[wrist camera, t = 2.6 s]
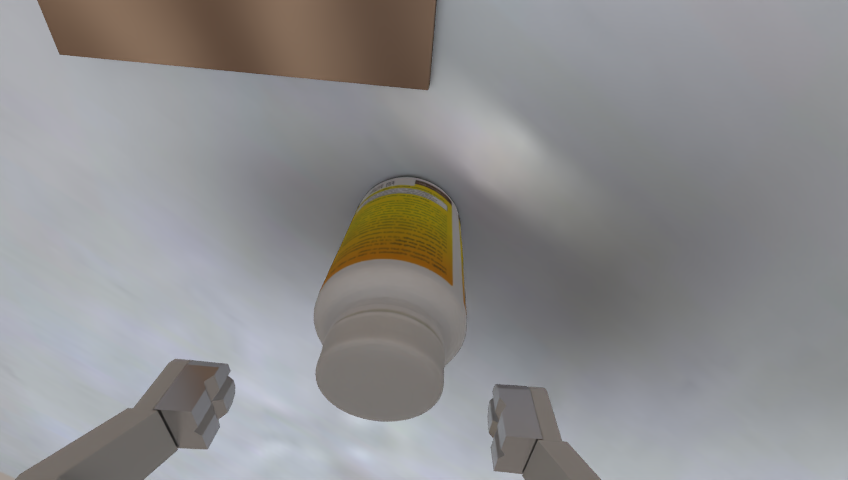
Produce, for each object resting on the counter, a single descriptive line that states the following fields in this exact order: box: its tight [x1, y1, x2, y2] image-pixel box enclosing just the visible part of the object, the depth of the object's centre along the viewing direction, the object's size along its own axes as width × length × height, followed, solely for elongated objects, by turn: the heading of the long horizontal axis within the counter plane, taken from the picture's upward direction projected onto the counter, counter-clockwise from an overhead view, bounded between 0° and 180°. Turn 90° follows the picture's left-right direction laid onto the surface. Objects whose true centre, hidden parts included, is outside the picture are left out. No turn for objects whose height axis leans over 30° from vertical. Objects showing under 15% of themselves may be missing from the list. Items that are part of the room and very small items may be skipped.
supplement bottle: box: [314, 177, 467, 422], centre depth 15 cm, size 6×6×10 cm
